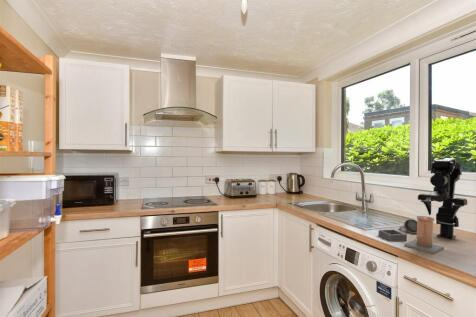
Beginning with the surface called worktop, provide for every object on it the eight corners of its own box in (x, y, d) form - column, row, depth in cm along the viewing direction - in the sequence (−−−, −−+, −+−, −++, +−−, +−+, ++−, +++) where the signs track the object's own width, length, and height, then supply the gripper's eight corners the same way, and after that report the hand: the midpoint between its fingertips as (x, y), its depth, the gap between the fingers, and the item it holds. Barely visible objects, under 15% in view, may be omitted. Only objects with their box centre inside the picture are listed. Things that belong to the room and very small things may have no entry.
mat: (414, 241, 131) (415, 239, 131) (444, 248, 122) (444, 246, 122) (404, 246, 125) (404, 243, 124) (434, 254, 115) (434, 251, 115)
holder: (393, 235, 142) (394, 229, 141) (406, 240, 133) (406, 234, 133) (378, 235, 140) (378, 229, 140) (390, 241, 131) (390, 235, 131)
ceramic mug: (422, 231, 149) (422, 217, 149) (419, 234, 143) (419, 220, 143) (401, 227, 157) (401, 215, 157) (397, 230, 151) (397, 217, 151)
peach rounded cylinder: (419, 241, 128) (420, 215, 127) (435, 245, 122) (436, 218, 122) (411, 245, 123) (412, 217, 123) (428, 249, 118) (429, 220, 117)
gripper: (413, 184, 132) (412, 215, 132) (460, 188, 117) (459, 223, 117) (422, 183, 138) (421, 212, 139) (468, 187, 123) (467, 220, 124)
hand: (440, 216), depth 129 cm, fingers open, 9 cm apart
